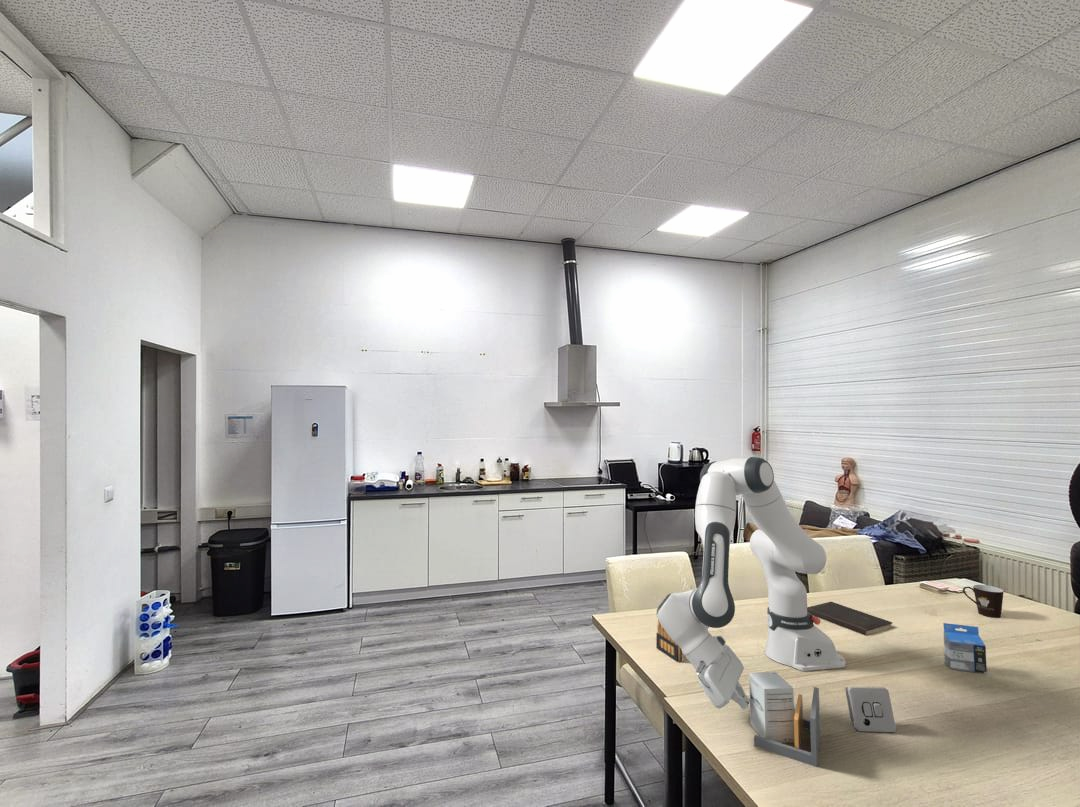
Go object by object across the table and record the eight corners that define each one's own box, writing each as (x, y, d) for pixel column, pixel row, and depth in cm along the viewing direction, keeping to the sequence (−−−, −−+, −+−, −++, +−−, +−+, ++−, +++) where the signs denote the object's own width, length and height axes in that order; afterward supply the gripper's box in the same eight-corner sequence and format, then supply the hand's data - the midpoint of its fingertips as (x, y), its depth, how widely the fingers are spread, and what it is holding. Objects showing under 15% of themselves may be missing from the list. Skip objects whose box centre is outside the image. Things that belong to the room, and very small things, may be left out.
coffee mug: (1011, 619, 179) (1010, 592, 179) (988, 619, 179) (987, 592, 179) (983, 607, 190) (982, 582, 191) (961, 607, 191) (960, 582, 191)
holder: (754, 746, 109) (753, 701, 110) (763, 713, 122) (762, 673, 122) (816, 766, 103) (815, 719, 103) (820, 730, 115) (818, 688, 115)
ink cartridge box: (950, 669, 143) (948, 627, 143) (944, 663, 146) (942, 622, 147) (987, 674, 140) (985, 631, 140) (980, 668, 143) (978, 626, 144)
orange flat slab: (794, 751, 106) (793, 719, 107) (799, 723, 116) (798, 693, 116) (798, 752, 106) (797, 720, 106) (803, 724, 116) (802, 694, 116)
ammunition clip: (682, 661, 149) (681, 622, 150) (677, 662, 148) (676, 623, 149) (660, 646, 159) (660, 610, 160) (656, 647, 158) (655, 611, 159)
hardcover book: (831, 607, 194) (830, 601, 194) (892, 628, 173) (892, 622, 173) (804, 613, 187) (804, 607, 187) (865, 637, 166) (865, 630, 166)
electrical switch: (856, 732, 114) (853, 690, 115) (844, 721, 119) (841, 681, 121) (897, 733, 114) (893, 692, 115) (883, 722, 119) (879, 682, 120)
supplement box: (749, 724, 117) (747, 672, 118) (778, 723, 118) (776, 671, 118) (765, 744, 110) (763, 688, 111) (796, 743, 110) (794, 687, 111)
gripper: (703, 665, 113) (748, 721, 107) (723, 633, 130) (763, 680, 124) (685, 678, 115) (728, 734, 110) (706, 646, 133) (745, 692, 127)
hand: (747, 705), depth 117 cm, fingers closed
